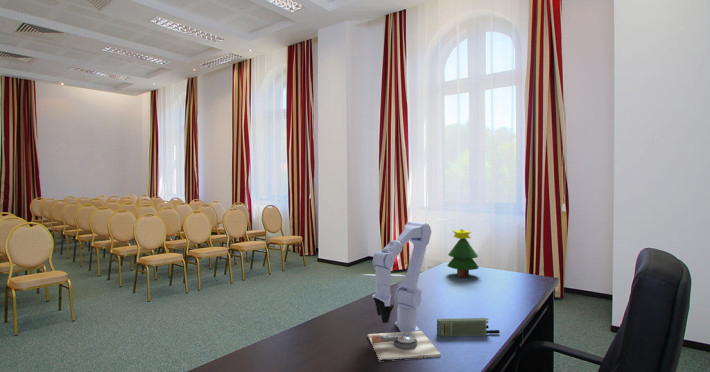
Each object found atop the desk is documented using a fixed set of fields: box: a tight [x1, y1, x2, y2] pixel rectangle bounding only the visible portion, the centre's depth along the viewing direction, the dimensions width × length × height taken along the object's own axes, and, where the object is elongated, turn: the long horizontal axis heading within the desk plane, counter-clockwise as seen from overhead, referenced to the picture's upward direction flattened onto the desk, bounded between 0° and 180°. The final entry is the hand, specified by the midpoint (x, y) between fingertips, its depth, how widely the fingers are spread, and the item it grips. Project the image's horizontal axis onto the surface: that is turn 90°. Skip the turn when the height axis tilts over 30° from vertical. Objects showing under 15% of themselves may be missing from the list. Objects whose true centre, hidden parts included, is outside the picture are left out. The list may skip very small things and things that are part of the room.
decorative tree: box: [446, 228, 479, 278], centre depth 239 cm, size 19×19×30 cm
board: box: [367, 330, 442, 361], centre depth 140 cm, size 20×22×2 cm
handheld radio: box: [436, 317, 500, 337], centre depth 150 cm, size 7×3×25 cm
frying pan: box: [372, 333, 415, 344], centre depth 138 cm, size 7×16×2 cm, turn 99°
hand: (382, 318), depth 145 cm, fingers open, 7 cm apart
